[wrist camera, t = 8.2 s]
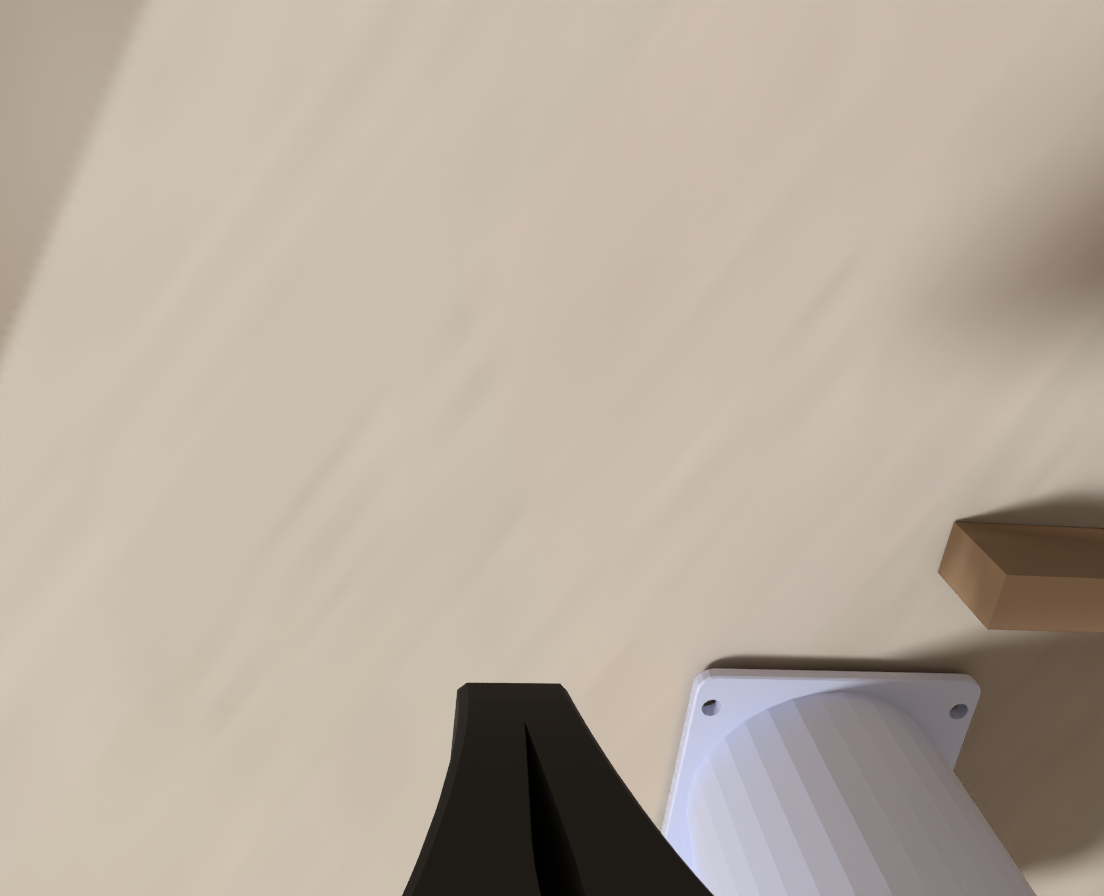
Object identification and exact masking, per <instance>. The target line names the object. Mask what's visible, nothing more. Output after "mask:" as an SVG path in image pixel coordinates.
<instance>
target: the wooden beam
mask: <svg viewBox="0 0 1104 896" xmlns="http://www.w3.org/2000/svg"><path fill="white" fill-rule="evenodd" d="M938 573H939V574H940V575H941V577H942V578H943V579H944V580H945V581H946V582H947V583H948V585H949V586H950V587H951V588H952V589H953V590H954V591H955V593H956V594H957V595H958V596H959V597H960V598H961V599H962V601H963V602H964V603H965V604H966V605H967V606H968V607H969V609H970V610H971V611H972V612H973V613H974V614H975V616H976V617H977V618H978V619H979V620H980V621H981V622H982V624H983V625H984V626H985V627H986V628H987V629H996V630H1031V631H1065V632H1099V633H1104V529H1097V528H1076V527H1054V526H1033V525H1012V524H991V523H970V522H954V524H953V527H952V530H951V533H950V536H949V540H948V543H947V546H946V549H945V552H944V555H943V558H942V561H941V564H940V568H939V571H938Z"/></svg>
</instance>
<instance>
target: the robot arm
mask: <svg viewBox="0 0 1104 896" xmlns="http://www.w3.org/2000/svg"><path fill="white" fill-rule="evenodd" d="M980 694H981V689H980V686H979V685H978V683H977V682H976V681H975V680H974V678H972V677H971V676H970V675H967V674H951V673H905V672H859V671H813V670H767V669H721V668H714V669H707V670H705V671H703V672H701V673H700V674H699V675H698V676H697V677H696V678H695V680H694V683H693V686H692V691H691V695H690V700H689V705H688V709H687V714H686V719H685V723H684V728H683V733H682V737H681V742H680V747H679V751H678V756H677V761H676V765H675V770H674V775H673V779H672V784H671V789H670V793H669V798H668V803H667V807H666V812H665V817H664V821H663V826H662V831H661V832H660V831H659V830H658V828H657V827H656V826H655V825H654V823H653V822H652V821H651V819H650V818H649V817H648V815H647V814H646V813H645V811H644V810H643V809H642V807H641V806H640V804H639V803H638V802H637V800H636V799H635V797H634V796H633V794H632V793H631V792H630V790H629V789H628V787H627V786H626V785H625V783H624V782H623V780H622V779H621V778H620V776H619V775H618V773H617V772H616V770H615V769H614V767H613V766H612V764H611V763H610V761H609V760H608V758H607V757H606V755H605V754H604V752H603V751H602V749H601V747H600V746H599V744H598V743H597V741H596V740H595V738H594V736H593V735H592V733H591V732H590V730H589V728H588V727H587V725H586V723H585V722H584V720H583V718H582V717H581V715H580V713H579V711H578V710H577V708H576V706H575V705H574V703H573V701H572V699H571V697H570V696H569V694H568V692H567V691H566V689H565V688H564V687H563V686H562V685H561V684H546V683H466V684H465V685H463V686H462V687H461V688H459V689H458V690H457V699H456V709H455V719H454V730H453V740H452V750H451V760H450V764H449V767H448V771H447V774H446V778H445V782H444V785H443V789H442V792H441V796H440V799H439V802H438V805H437V809H436V812H435V814H434V817H433V820H432V822H431V825H430V828H429V830H428V833H427V836H426V839H425V841H424V844H423V847H422V849H421V852H420V855H419V857H418V860H417V862H416V865H415V867H414V870H413V872H412V874H411V877H410V879H409V881H408V884H407V886H406V888H405V890H404V893H403V895H402V896H1037V895H1036V894H1035V892H1034V891H1033V889H1032V888H1031V886H1030V885H1029V883H1028V882H1027V880H1026V879H1025V877H1024V876H1023V874H1022V873H1021V871H1020V870H1019V868H1018V867H1017V865H1016V864H1015V863H1014V861H1013V860H1012V858H1011V857H1010V855H1009V854H1008V852H1007V851H1006V849H1005V848H1004V846H1003V845H1002V843H1001V842H1000V840H999V839H998V837H997V836H996V834H995V833H994V831H993V830H992V828H991V827H990V825H989V824H988V822H987V821H986V819H985V818H984V816H983V815H982V813H981V812H980V810H979V809H978V807H977V806H976V804H975V803H974V801H973V800H972V799H971V797H970V796H969V794H968V793H967V791H966V790H965V788H964V787H963V785H962V784H961V782H960V781H959V779H958V778H957V776H956V775H955V773H954V772H953V769H954V767H955V764H956V761H957V758H958V756H959V753H960V750H961V747H962V745H963V742H964V739H965V736H966V734H967V731H968V728H969V725H970V723H971V720H972V717H973V715H974V712H975V709H976V706H977V704H978V701H979V698H980ZM709 700H716V701H715V703H713V704H712V705H708V706H704V705H703V704H704V703H705V702H707V701H709ZM958 704H959V706H958V707H956V708H955V709H952V707H954V706H956V705H958Z"/></svg>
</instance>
